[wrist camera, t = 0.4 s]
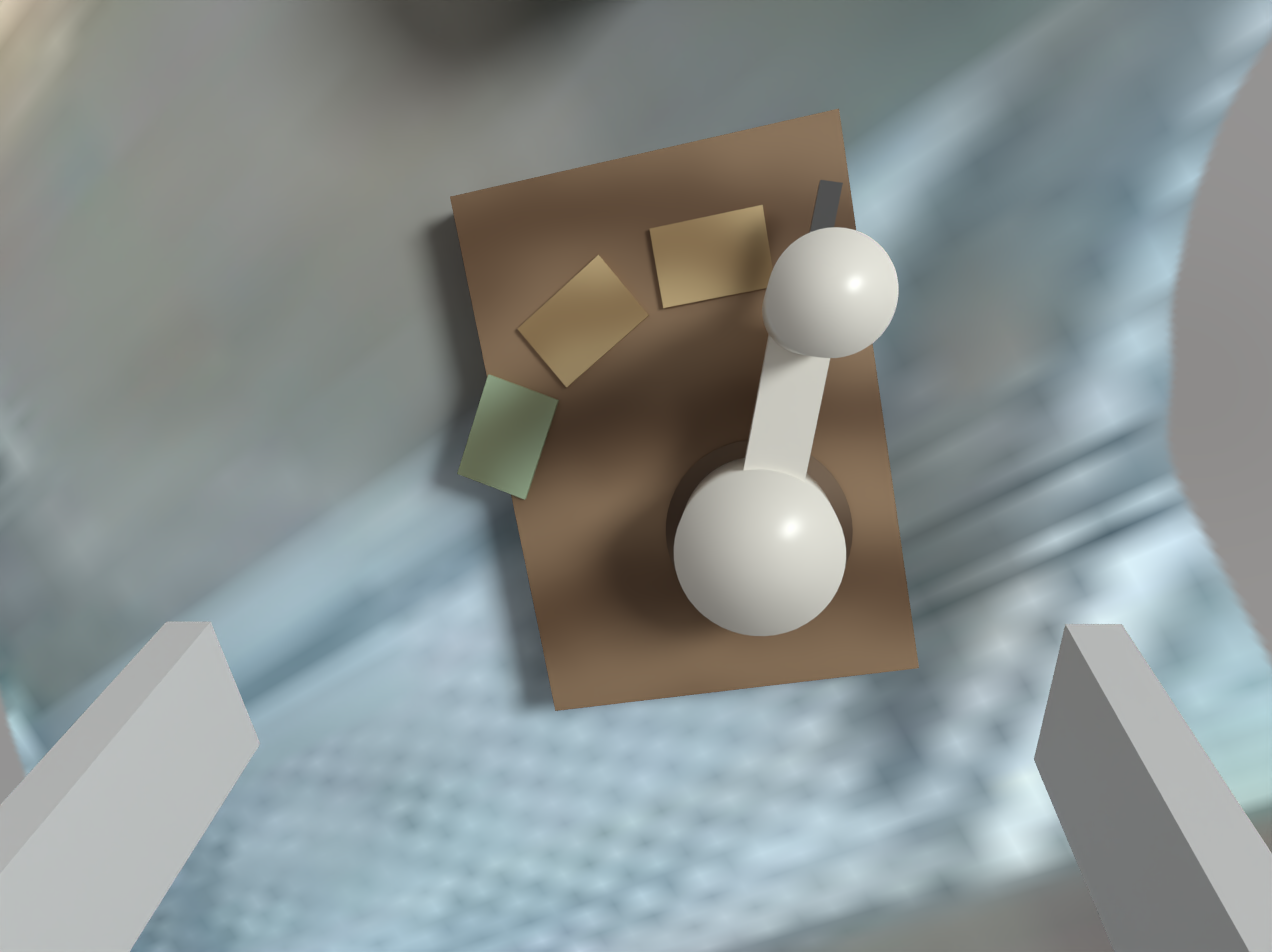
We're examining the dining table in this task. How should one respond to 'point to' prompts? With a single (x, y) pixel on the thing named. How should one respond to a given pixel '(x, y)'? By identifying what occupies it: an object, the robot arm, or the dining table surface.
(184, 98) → the dining table surface
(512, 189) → the board
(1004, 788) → the dining table surface
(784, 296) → the peg
